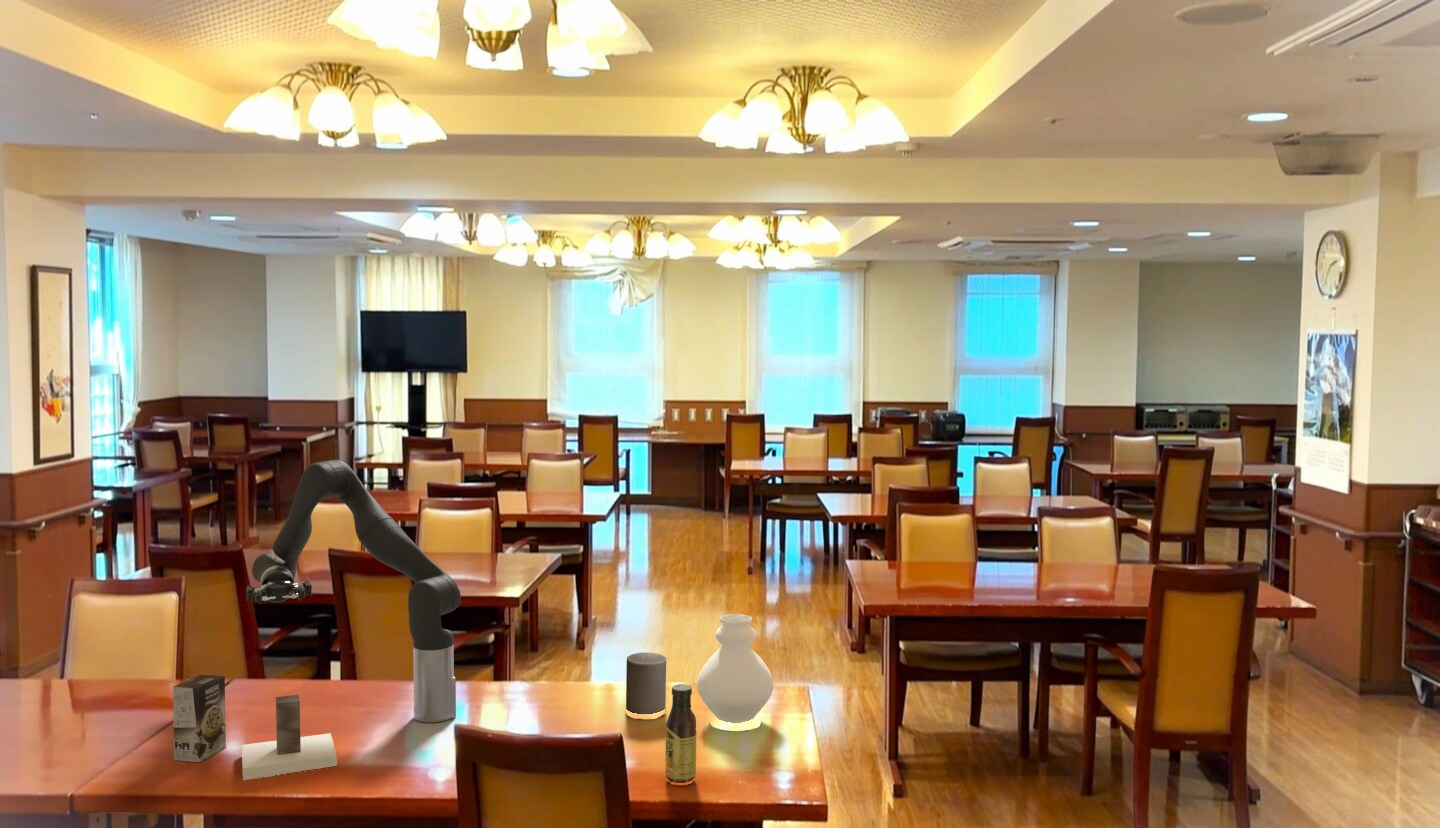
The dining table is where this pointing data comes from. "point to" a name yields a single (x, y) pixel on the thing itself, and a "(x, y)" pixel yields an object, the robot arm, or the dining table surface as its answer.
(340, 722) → the dining table surface
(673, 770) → the sauce bottle
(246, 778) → the base
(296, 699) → the column
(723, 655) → the decorative vase
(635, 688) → the pillar candle
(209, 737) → the coffee box
